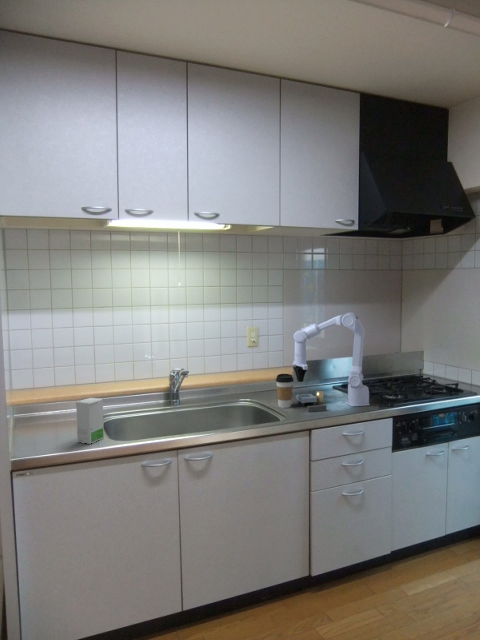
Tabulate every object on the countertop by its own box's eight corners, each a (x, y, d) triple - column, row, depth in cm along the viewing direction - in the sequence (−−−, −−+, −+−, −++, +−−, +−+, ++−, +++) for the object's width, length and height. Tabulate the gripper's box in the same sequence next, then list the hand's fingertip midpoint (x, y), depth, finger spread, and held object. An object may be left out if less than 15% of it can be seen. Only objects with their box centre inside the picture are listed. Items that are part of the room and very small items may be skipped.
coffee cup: (294, 404, 231) (294, 373, 230) (291, 409, 223) (291, 377, 222) (277, 403, 234) (277, 373, 232) (274, 408, 226) (274, 376, 224)
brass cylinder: (321, 401, 236) (321, 390, 236) (324, 403, 233) (325, 392, 232) (314, 402, 235) (314, 391, 235) (317, 404, 232) (317, 393, 231)
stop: (325, 409, 222) (325, 404, 222) (326, 410, 221) (326, 405, 221) (307, 411, 220) (307, 406, 219) (308, 412, 219) (308, 406, 218)
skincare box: (90, 445, 177) (88, 403, 176) (76, 442, 180) (74, 401, 179) (105, 438, 185) (103, 398, 184) (91, 435, 188) (90, 396, 186)
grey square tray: (310, 401, 237) (310, 393, 237) (316, 405, 230) (316, 397, 229) (296, 402, 235) (296, 395, 235) (301, 406, 228) (301, 398, 227)
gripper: (287, 352, 244) (287, 378, 245) (298, 357, 230) (298, 385, 231) (300, 351, 246) (300, 378, 247) (311, 356, 232) (311, 384, 233)
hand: (300, 381), depth 239 cm, fingers closed
